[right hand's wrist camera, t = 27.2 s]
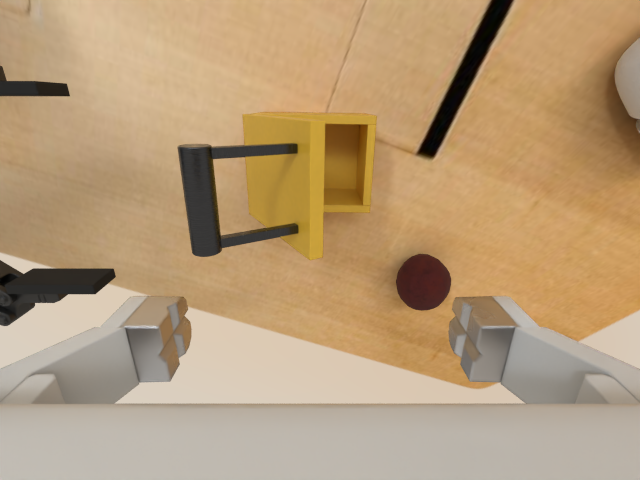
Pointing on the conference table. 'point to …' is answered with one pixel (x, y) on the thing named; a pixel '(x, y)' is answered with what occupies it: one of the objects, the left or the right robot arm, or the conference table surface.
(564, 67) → the conference table surface
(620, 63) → the white rounded slotted block
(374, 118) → the chest
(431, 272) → the potato
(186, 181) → the yellow panel
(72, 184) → the conference table surface
